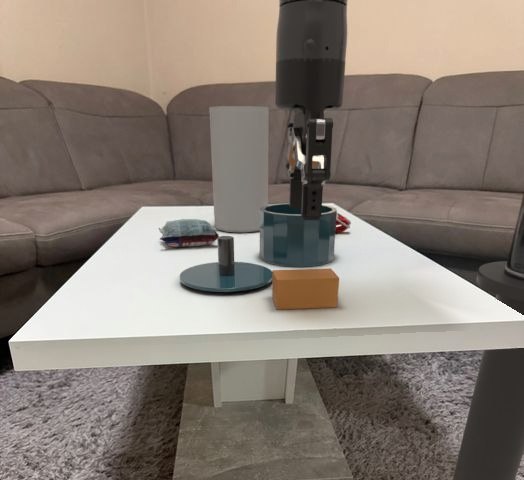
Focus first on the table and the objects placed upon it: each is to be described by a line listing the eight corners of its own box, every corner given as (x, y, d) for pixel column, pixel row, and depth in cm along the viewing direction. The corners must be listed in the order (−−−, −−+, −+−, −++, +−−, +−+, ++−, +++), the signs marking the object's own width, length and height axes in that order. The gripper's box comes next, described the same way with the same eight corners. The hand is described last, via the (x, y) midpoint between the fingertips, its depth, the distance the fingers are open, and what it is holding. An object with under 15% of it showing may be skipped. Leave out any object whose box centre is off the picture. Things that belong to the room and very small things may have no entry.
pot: (298, 245, 91) (300, 201, 87) (348, 258, 82) (352, 209, 78) (245, 255, 84) (245, 207, 80) (293, 271, 74) (295, 218, 71)
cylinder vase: (267, 233, 101) (267, 106, 90) (211, 233, 101) (204, 106, 91) (268, 223, 112) (269, 108, 101) (218, 222, 113) (213, 108, 102)
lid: (237, 263, 79) (236, 224, 76) (292, 283, 69) (293, 239, 66) (163, 278, 71) (159, 235, 68) (213, 303, 61) (210, 254, 58)
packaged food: (159, 240, 94) (157, 216, 92) (216, 238, 97) (215, 214, 94) (160, 251, 87) (158, 225, 85) (222, 248, 89) (221, 222, 87)
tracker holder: (321, 235, 94) (286, 218, 99) (319, 254, 97) (285, 236, 102) (357, 215, 100) (322, 199, 105) (354, 233, 103) (320, 217, 108)
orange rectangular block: (329, 296, 63) (330, 268, 62) (337, 307, 59) (339, 277, 58) (272, 298, 63) (272, 270, 61) (276, 309, 59) (276, 279, 57)
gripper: (364, 50, 43) (349, 224, 50) (328, 68, 56) (320, 205, 63) (286, 48, 43) (282, 225, 50) (268, 66, 55) (267, 205, 62)
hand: (303, 213), depth 56 cm, fingers open, 8 cm apart
